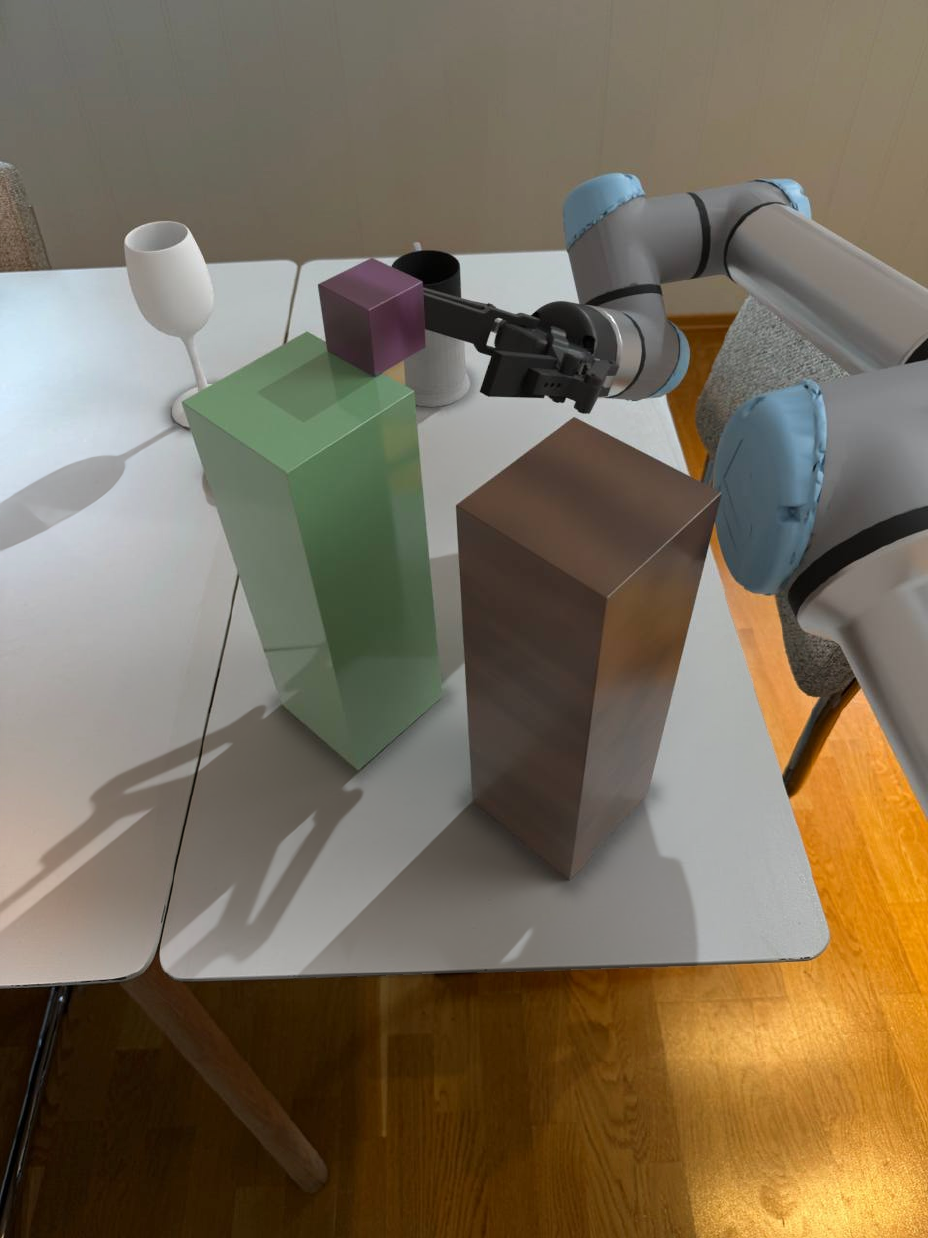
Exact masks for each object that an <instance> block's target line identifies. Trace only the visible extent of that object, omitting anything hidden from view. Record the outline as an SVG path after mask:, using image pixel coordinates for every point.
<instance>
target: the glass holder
mask: <svg viewBox="0 0 928 1238" xmlns="http://www.w3.org/2000/svg"><path fill="white" fill-rule="evenodd" d="M390 266H391V267H393V268H395V269H397V270H399V271H401V272H404V273H406V274H408V275H410V276H412V277H414V278H416V279H418V280H420V281H422V282H423V287H424V288H427V289H431V290H435V291H438V292H442V293H445V294H449V295H452V296H456V297H460V298H462V280H461V264H460V261H459V259H458V258H456V257H455V256H454V255H453V254H450V253H449V252H445V251H443V250H442V251H441V250H436V249H424V250H423V249H422V245H421V243H420V242H419V241H415V242H413V243H412V252H408V253H405V254H403V255H401V256H399V257H398V258H396V260H394V261H393V263H392V264H391V265H390ZM425 340H426V347H425V348H424V349H422V350H421V351H419V352H417V353H415V354H414V355H412V356H410V357H408V358H407V359H405V360H404V373H405V386H407V387H408V388H410V389H412V390H414V396H415V406H418V407H419V406H420V407H424V408H425V407H427V408H432V407H433V408H435V407H445V406H448V405H450V404H453V403H455V402H459V400H461V399H463V398H464V397H465V396H466V395H467V394H468V392H469V390H470V387H471V380H470V378H469V375H468V373H467V370H466V369H467V367H466V342H465V341H462V340H459V339H455V338H452V337H449V336H446V335H442V334H439V333H436V332H432V331H429V330H426V329H425Z"/></svg>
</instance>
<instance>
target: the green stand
mask: <svg viewBox="0 0 928 1238" xmlns="http://www.w3.org/2000/svg"><path fill="white" fill-rule="evenodd" d="M211 384H212V385H210V386H209V387H207V388H205V389H203V390H201V391H200V392H198V393H196V394H194V395H192V396H191V397H189V398H187V399H185V400H184V401H182V402H181V403H182V406H183V409H184V412H185V415H186V418H187V421H188V424H189V427H190V428H189V430H190V433H191V437H192V439H193V442H194V444H195V445H194V446H195V447H196V451H197V454H198V457H199V460H200V462H201V465H202V468H203V472H204V476H205V478H206V481H207V483H208V487H209V490H210V493H211V496H212V499H213V502H214V505H215V508H216V511H217V514H218V517H219V520H220V523H221V526H222V529H223V532H224V535H225V538H226V542H227V544H228V547H229V550H230V552H231V556H232V560H233V563H234V565H235V569H236V571H237V574H238V577H239V580H240V583H241V586H242V590H243V592H244V595H245V598H246V601H247V604H248V607H249V610H250V614H251V617H252V618H253V623H254V625H255V628H256V631H257V634H258V637H259V641H260V643H261V645H262V650H263V652H264V655H265V659H266V661H267V664H268V667H269V670H270V673H271V676H272V681H273V682H274V686H275V689H276V692H277V695H278V698H279V701H280V705H282V706H283V707H284V708H285V709H286V710H287V711H288V712H290V714H292V715H293V716H295V718H296V719H298V720H299V721H300V722H301V723H302V724H304V725H305V726H306V727H307V728H308V729H309V730H310V731H312V732H313V733H314V734H315V735H316V736H317V737H319V739H321V740H322V742H324V743H325V744H327V745H328V746H329V747H330V748H332V750H333V751H335V752H336V753H337V754H338V755H339V756H340V757H342V758H343V759H344V761H346V762H347V763H348V764H349V765H351V767H353V768H354V769H356V771H360V770H361V769H362V768H364V767H365V766H366V765H367V764H368V763H369V762H370V761H372V760H373V759H374V758H375V757H376V756H378V754H379V753H380V752H381V751H383V750H384V749H385V748H386V747H387V746H388V745H390V744H391V743H392V742H394V740H395V739H396V738H397V737H399V736H400V735H401V734H402V733H403V732H404V731H406V729H408V728H409V727H410V726H411V725H413V723H414V722H416V721H417V720H418V719H419V718H420V717H421V716H422V715H423V714H425V713H426V712H427V711H428V710H429V709H431V708H432V707H433V706H434V705H435V704H436V703H438V702H439V700H441V699H442V698H443V690H442V689H443V688H442V678H441V668H440V659H439V649H438V648H439V646H438V636H437V625H436V614H435V602H434V593H433V582H432V581H433V580H432V572H431V571H432V570H431V560H430V559H431V558H430V548H429V538H428V527H427V517H426V516H427V515H426V505H425V495H424V484H423V473H422V464H421V463H422V461H421V452H420V441H419V440H420V439H419V430H418V419H417V409H416V405H415V396H414V390H412V389H410V388H408V387H407V386H405V385H403V384H401V383H399V382H398V381H396V380H394V379H392V378H390V377H389V376H387V375H385V374H383V373H381V374H379V375H377V376H375V377H374V376H372V375H370V374H369V373H367V372H365V371H363V370H362V369H360V368H358V367H356V366H354V365H353V364H351V363H349V362H347V361H345V360H344V359H342V358H340V357H338V356H336V355H335V354H333V353H331V352H329V351H328V350H327V346H326V340H324V339H322V338H320V337H318V336H317V335H314V334H313V333H311V332H310V331H305V332H303V333H302V334H299V335H298V336H296V337H294V338H292V339H291V340H289V341H287V342H285V343H283V344H282V345H280V346H278V347H276V348H274V349H273V350H271V351H269V352H267V353H265V354H263V355H262V356H260V357H258V358H257V359H254V360H253V361H251V362H249V363H248V364H246V365H244V366H242V367H241V368H238V369H237V370H236V371H233V372H232V373H230V374H228V375H226V376H224V377H223V378H221V379H219V380H218V381H215V382H214V383H211Z"/></svg>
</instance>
